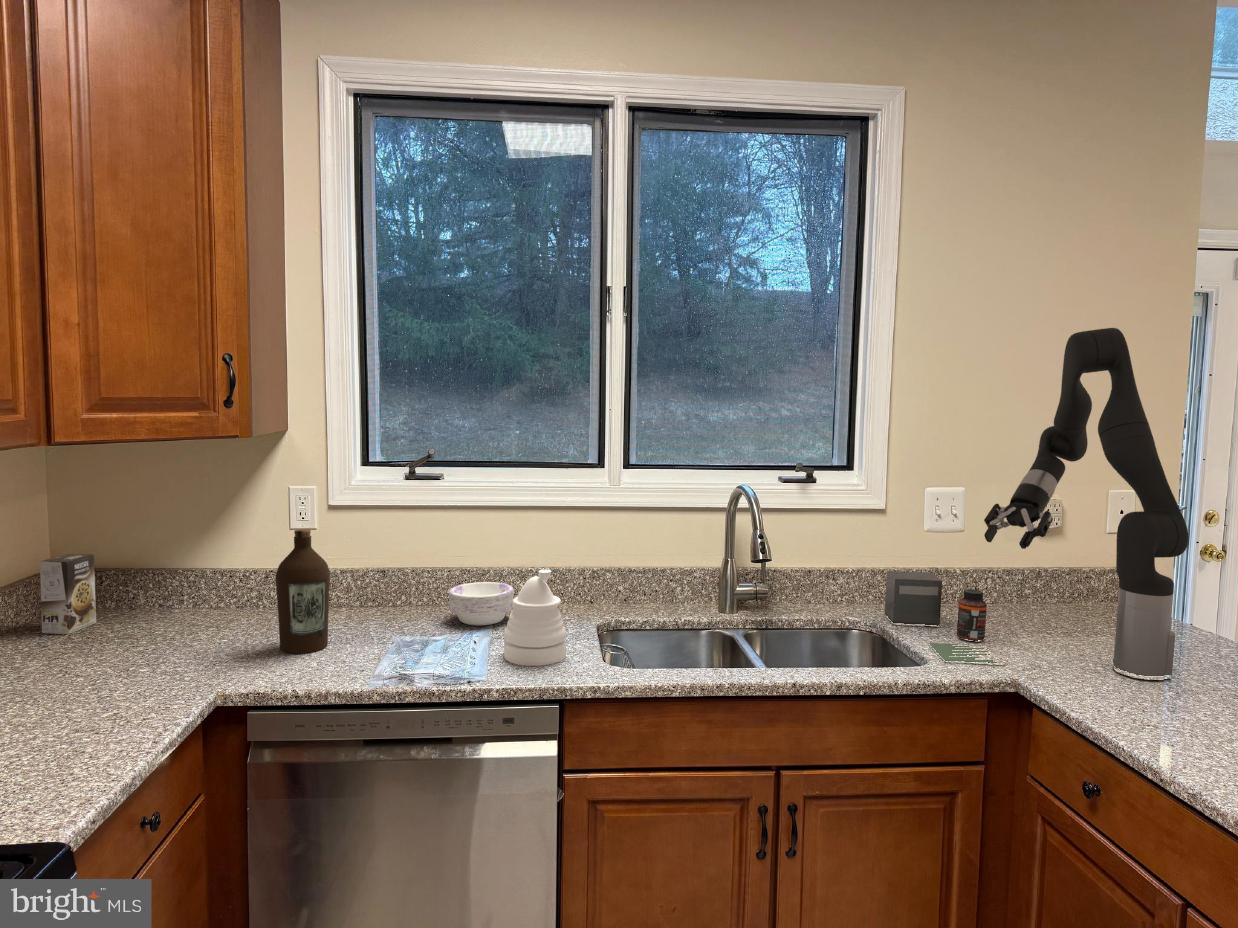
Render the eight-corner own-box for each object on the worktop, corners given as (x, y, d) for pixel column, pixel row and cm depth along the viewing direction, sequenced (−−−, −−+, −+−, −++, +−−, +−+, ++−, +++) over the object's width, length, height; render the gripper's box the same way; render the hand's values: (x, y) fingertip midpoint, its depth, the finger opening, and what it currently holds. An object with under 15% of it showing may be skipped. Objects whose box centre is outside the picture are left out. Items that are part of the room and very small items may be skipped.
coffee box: (70, 634, 175) (67, 561, 173) (40, 633, 175) (37, 560, 174) (98, 622, 184) (95, 553, 182) (70, 622, 184) (67, 552, 183)
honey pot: (574, 649, 172) (575, 566, 170) (553, 668, 159) (554, 579, 158) (518, 643, 175) (519, 562, 173) (493, 661, 163) (494, 574, 161)
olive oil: (272, 644, 171) (270, 528, 169) (324, 636, 177) (322, 524, 175) (282, 658, 162) (280, 536, 160) (336, 649, 168) (335, 531, 166)
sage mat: (984, 648, 178) (984, 645, 178) (1004, 665, 166) (1004, 663, 166) (928, 645, 179) (929, 642, 179) (944, 662, 167) (944, 659, 167)
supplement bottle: (981, 644, 180) (984, 595, 180) (953, 639, 184) (956, 591, 183) (987, 638, 185) (990, 590, 184) (960, 633, 189) (963, 586, 188)
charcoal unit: (928, 616, 203) (931, 572, 202) (940, 628, 193) (943, 581, 192) (884, 614, 204) (886, 570, 203) (893, 625, 194) (895, 579, 193)
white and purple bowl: (443, 615, 196) (443, 583, 195) (504, 609, 202) (504, 578, 201) (455, 632, 182) (456, 598, 181) (520, 626, 188) (521, 593, 187)
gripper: (1000, 479, 199) (970, 528, 193) (1059, 485, 187) (1028, 538, 182) (1011, 498, 202) (982, 547, 197) (1069, 506, 190) (1039, 559, 185)
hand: (1004, 543), depth 189 cm, fingers open, 8 cm apart
